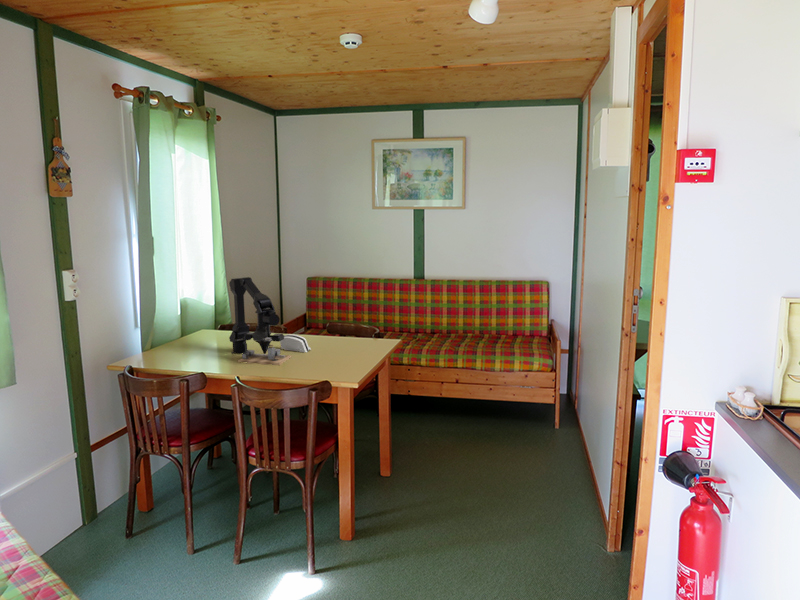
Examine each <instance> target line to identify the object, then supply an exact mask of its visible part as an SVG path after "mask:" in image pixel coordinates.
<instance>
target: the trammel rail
mask: <svg viewBox="0 0 800 600" xmlns="http://www.w3.org/2000/svg"><path fill="white" fill-rule="evenodd" d="M247 350H248V351H246V352H245V353H243V354H241V355H242V356H241V358H242V359H247V358H248V356H254V357H268V353H266V354H264V353H255V349H247ZM285 355H286V354H279V355H278V356H275V358H285Z"/></svg>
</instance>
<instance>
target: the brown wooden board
mask: <svg viewBox="0 0 800 600" xmlns="http://www.w3.org/2000/svg"><path fill="white" fill-rule="evenodd" d="M284 355H285V358H275V359H274V360H268V357H254V356H248V358H247V359H242V357H241V358H240V359H238V360H237V363H238V362H247V363H246V364H252V363H259V364H258V365H268V364H272V365H271V366H281V365H282V364H283V362H284V363H285V362H287V361H288V360H290V359H292V358H291V357H292V356H291V355H290V354H289V355H288V354H287V355H286V354H284ZM289 358H290V359H289ZM286 360H287V361H286Z"/></svg>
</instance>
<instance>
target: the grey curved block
mask: <svg viewBox="0 0 800 600" xmlns="http://www.w3.org/2000/svg"><path fill="white" fill-rule="evenodd" d="M283 335H284V334H283ZM279 343H280V350H283V349H284V350H285V351H291V352H292V351H293V352H298V351H299V352H300V353H305V352H306V353H308V351H309V350H311V351H312V349H311V347H310V346H309V344H308V342H307V339H306V338H305V337H303V336H300V335H297V334H291V333H289V334H285V335H284V339H283V340H281V341H279ZM299 352H298V353H299Z"/></svg>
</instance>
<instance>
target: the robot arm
mask: <svg viewBox="0 0 800 600" xmlns="http://www.w3.org/2000/svg"><path fill="white" fill-rule="evenodd" d="M228 283H229V284H228V285H229V289H230V291H231V293H232V295H233V300H234V301H233V303H234V319H235V321H234V324H233V326H232V332H231V333H230V336H229V337H228V339H229V342H231V343H232V351H231V354H238V353H245V352H246V351H248V350H249V349H248V343H247V341H251V340H252V339H253V341H254V342H256V343H258V345H259V347H260V348H261V351H262V354H267V353H268V348H269V345H271V343H272V341H273V342H277V343H278V342H279V343H280V341H281V340H283V339H284V334H283V333H275V334H272V331H271V330H270V329H271V327H273V326H274V327H276V326H277V325H279V323H280V317H279V315H278V314H277V313H276V310H275V305H274V304H273V302H272V300H271V299H270V297H269V296H268V295H266V294H264V293H262V292H261V291H260V289H259V288H258V287H257V285H256V284H255V283H254V281H253V279H252V277H250V276H246V277H237V278H234V277H233V278H231V279H230V281H229V282H228ZM246 292H247V293H248V294H249V295H250V297H251V298H252V301H253V305H254V308H255V309H256V311H255V314H256V315H257V316H256V317H257V325H256V328H255V330H254V331H253V332H252V331H250V326H249V325H248V324H247V323H246V312H245V294H246Z"/></svg>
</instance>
